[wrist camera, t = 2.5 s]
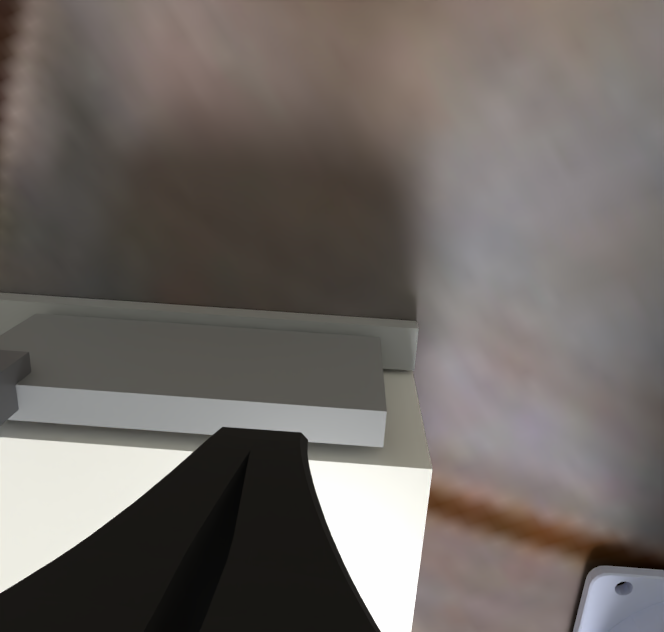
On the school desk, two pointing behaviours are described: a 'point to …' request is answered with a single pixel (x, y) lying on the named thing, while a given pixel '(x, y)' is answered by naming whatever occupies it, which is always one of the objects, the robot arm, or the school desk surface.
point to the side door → (192, 378)
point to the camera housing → (174, 447)
